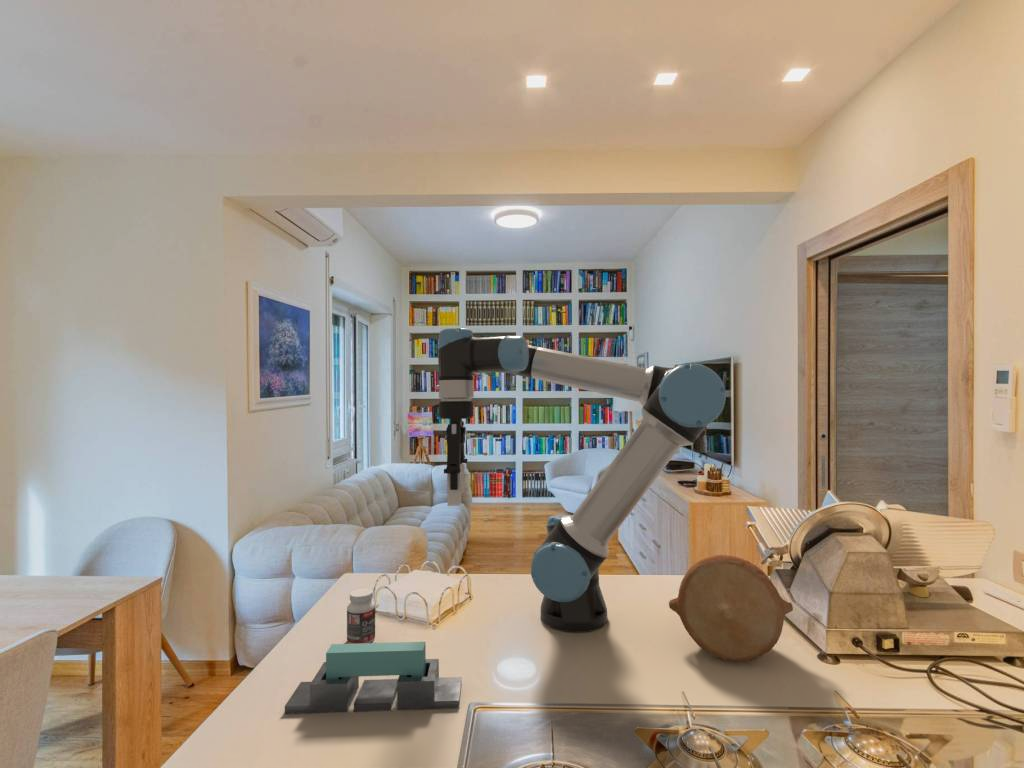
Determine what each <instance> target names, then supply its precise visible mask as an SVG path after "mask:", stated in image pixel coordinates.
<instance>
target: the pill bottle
mask: <svg viewBox="0 0 1024 768" xmlns="http://www.w3.org/2000/svg"><path fill="white" fill-rule="evenodd" d="M373 598H374V591H373V590H372V589H371V588H366V587H365V588H364V587H363V588H359V589H358V588H357V589H354V590H352V591H350V593H349V601H350V602H349V604H348V605H347V607H346V641H347V644H359V643H373V642H374V640H375V638H376V602H375V601H374V600H373Z"/></svg>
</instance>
